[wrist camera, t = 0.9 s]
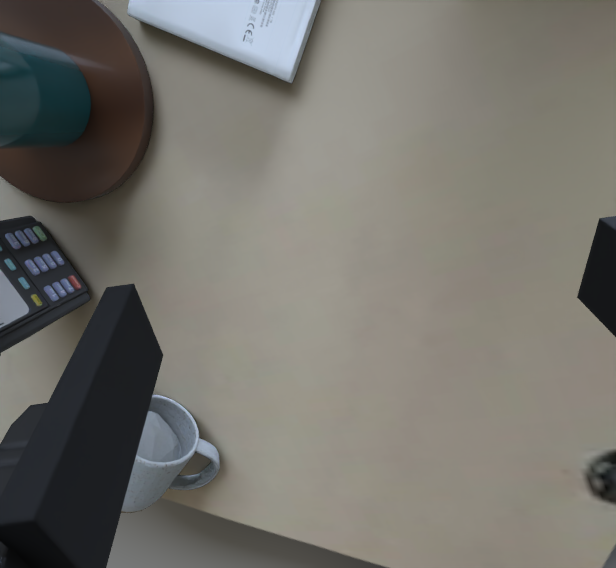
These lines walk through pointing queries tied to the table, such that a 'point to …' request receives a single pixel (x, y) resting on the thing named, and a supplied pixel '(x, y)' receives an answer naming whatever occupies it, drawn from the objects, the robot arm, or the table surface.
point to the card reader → (33, 281)
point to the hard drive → (238, 28)
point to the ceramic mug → (167, 455)
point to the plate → (103, 93)
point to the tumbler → (40, 95)
